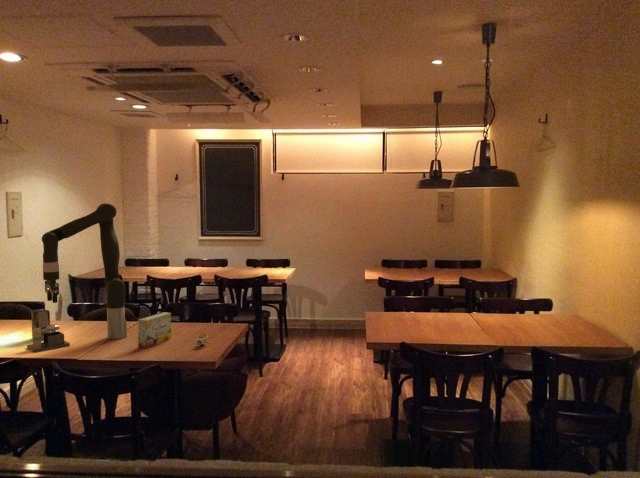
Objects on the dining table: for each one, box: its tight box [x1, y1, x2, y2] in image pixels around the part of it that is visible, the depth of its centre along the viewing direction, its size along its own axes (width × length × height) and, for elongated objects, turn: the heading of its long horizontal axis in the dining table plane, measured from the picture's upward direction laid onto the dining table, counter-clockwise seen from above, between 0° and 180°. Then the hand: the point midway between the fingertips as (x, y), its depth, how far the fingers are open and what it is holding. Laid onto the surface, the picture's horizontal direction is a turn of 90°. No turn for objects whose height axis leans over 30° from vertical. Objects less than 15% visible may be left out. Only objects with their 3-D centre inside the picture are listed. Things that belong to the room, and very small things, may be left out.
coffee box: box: [30, 308, 51, 342], centre depth 285 cm, size 9×6×16 cm
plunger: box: [35, 323, 60, 334], centre depth 269 cm, size 12×6×4 cm, turn 135°
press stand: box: [26, 328, 71, 353], centre depth 270 cm, size 17×12×10 cm
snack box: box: [137, 311, 172, 349], centre depth 278 cm, size 21×6×15 cm, turn 160°
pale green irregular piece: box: [194, 332, 209, 346], centre depth 274 cm, size 12×18×7 cm, turn 168°
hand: (52, 301), depth 270 cm, fingers open, 7 cm apart
